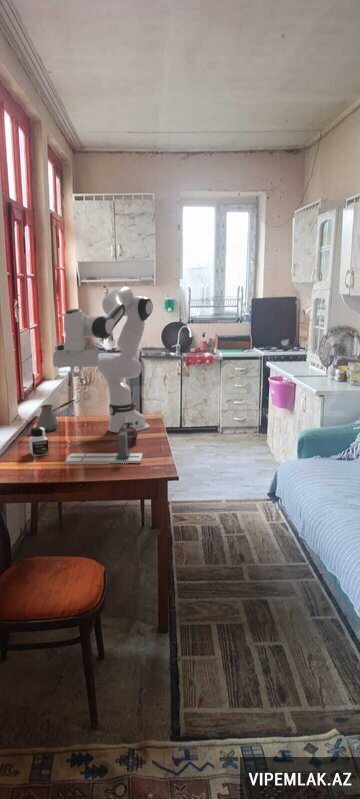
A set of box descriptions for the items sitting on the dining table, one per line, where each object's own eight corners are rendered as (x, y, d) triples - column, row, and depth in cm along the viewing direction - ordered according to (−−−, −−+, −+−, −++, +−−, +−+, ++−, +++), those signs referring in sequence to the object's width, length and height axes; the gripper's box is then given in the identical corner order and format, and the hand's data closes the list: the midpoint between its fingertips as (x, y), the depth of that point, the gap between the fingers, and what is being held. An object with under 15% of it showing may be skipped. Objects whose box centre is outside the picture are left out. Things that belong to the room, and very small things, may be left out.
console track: (65, 464, 210) (65, 460, 210) (70, 456, 220) (70, 453, 219) (140, 463, 209) (140, 460, 209) (142, 456, 219) (142, 452, 219)
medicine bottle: (33, 456, 220) (31, 430, 218) (29, 452, 226) (27, 427, 224) (49, 454, 223) (47, 428, 221) (45, 450, 230) (43, 425, 227)
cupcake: (115, 441, 242) (115, 421, 240) (135, 439, 245) (134, 419, 243) (120, 447, 233) (119, 426, 231) (140, 444, 237) (139, 424, 235)
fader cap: (116, 458, 211) (115, 435, 209) (118, 453, 217) (118, 431, 215) (128, 458, 211) (127, 435, 209) (130, 453, 217) (129, 431, 215)
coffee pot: (39, 433, 259) (37, 405, 256) (35, 428, 269) (33, 401, 266) (79, 428, 267) (78, 401, 264) (74, 423, 278) (73, 397, 274)
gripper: (99, 345, 224) (100, 375, 227) (54, 345, 225) (56, 375, 228) (97, 346, 218) (98, 377, 221) (51, 346, 219) (53, 377, 221)
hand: (76, 376), depth 224 cm, fingers closed
